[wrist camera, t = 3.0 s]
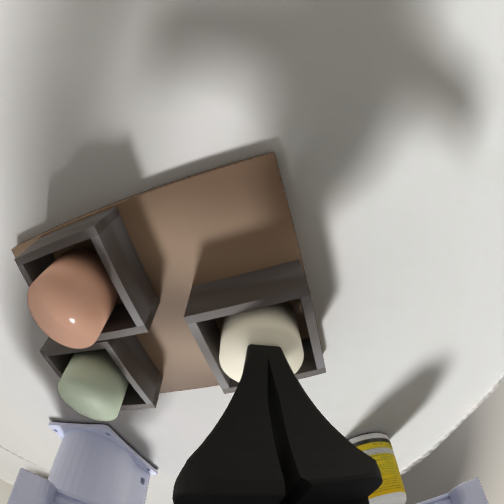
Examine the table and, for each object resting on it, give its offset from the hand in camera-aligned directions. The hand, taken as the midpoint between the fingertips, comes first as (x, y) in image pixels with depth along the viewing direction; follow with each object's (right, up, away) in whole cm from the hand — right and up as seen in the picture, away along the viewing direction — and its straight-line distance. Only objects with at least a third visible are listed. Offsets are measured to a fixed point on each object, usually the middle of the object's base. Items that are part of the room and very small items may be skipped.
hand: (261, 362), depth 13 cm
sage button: (-9, -2, +3) cm, 10 cm away
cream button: (0, +1, +2) cm, 3 cm away
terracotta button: (-8, +3, 0) cm, 9 cm away
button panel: (-5, +2, +3) cm, 6 cm away
